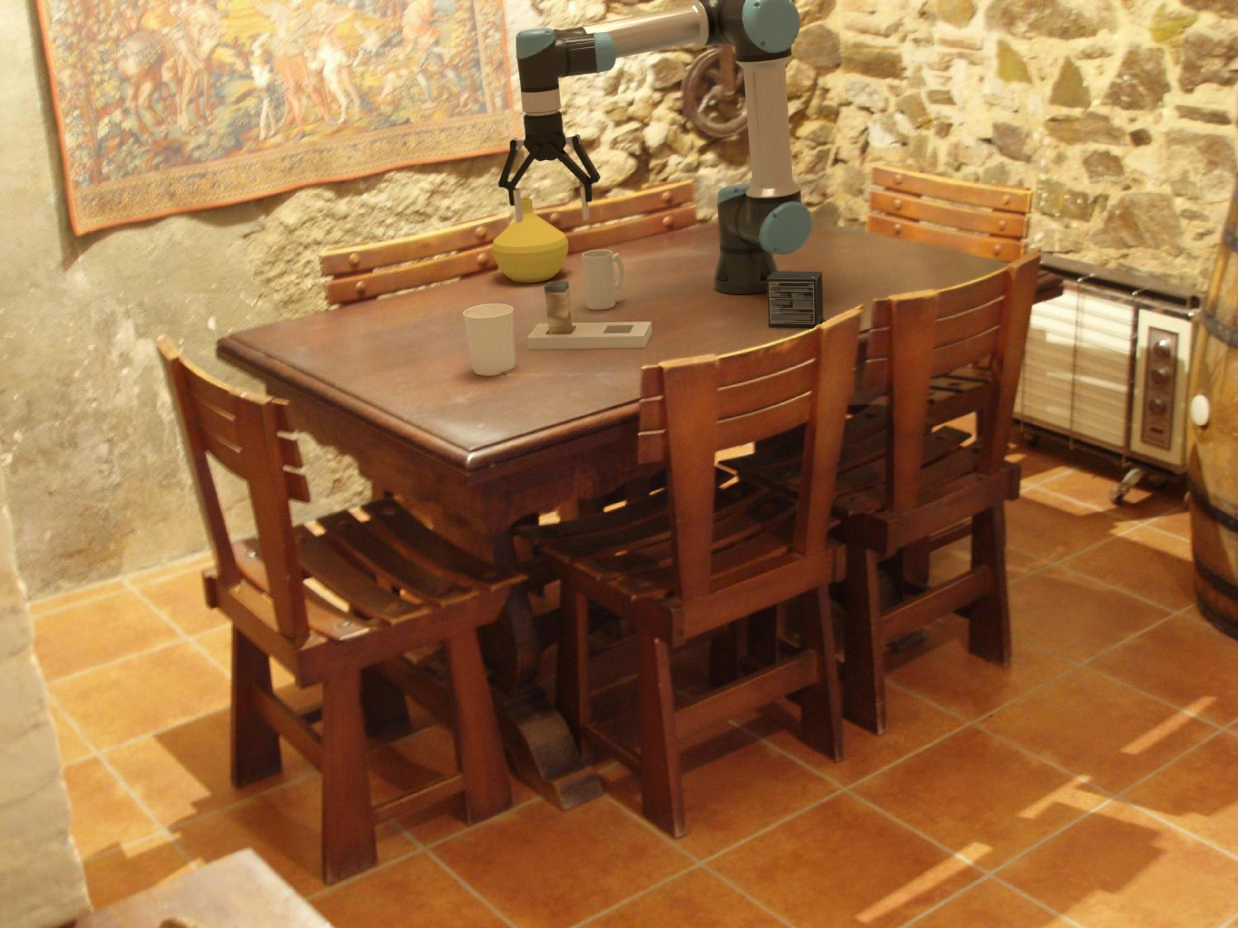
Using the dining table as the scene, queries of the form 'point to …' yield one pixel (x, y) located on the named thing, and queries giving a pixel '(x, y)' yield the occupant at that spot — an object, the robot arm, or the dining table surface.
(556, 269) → the vase
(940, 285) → the dining table surface
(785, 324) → the small box
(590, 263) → the mug
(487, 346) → the beige cup
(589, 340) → the panel
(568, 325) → the plug
